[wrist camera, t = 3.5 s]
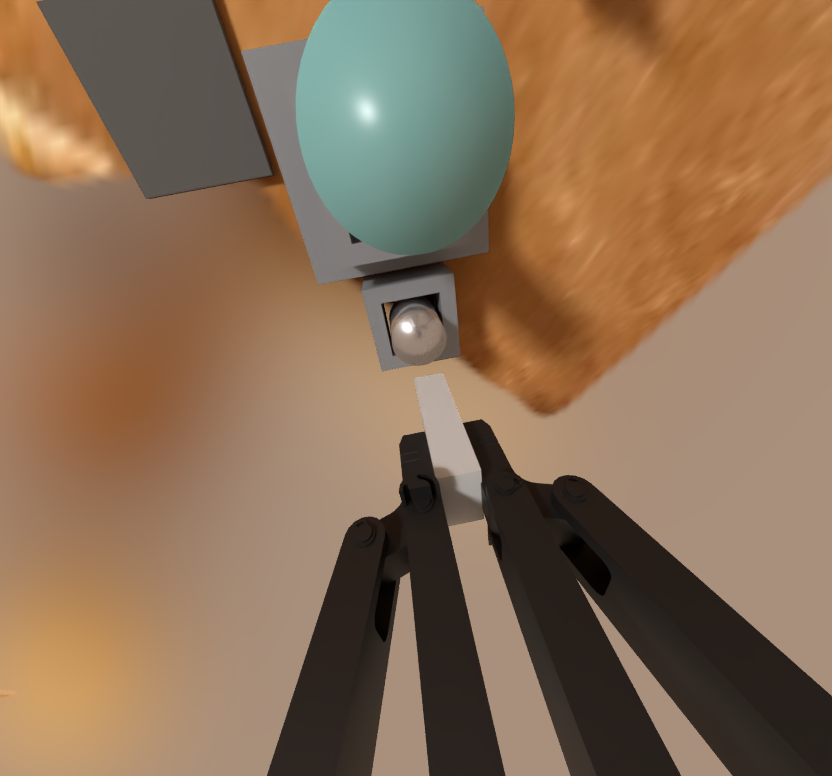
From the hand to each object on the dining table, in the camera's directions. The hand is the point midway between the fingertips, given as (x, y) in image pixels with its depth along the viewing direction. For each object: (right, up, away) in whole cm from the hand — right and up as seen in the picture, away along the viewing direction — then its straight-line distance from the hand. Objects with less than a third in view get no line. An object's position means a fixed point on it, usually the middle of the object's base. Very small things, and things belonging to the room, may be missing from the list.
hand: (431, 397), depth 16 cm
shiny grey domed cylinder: (-1, +7, +10) cm, 12 cm away
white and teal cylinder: (-3, +15, +5) cm, 16 cm away
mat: (-16, +19, +3) cm, 25 cm away
